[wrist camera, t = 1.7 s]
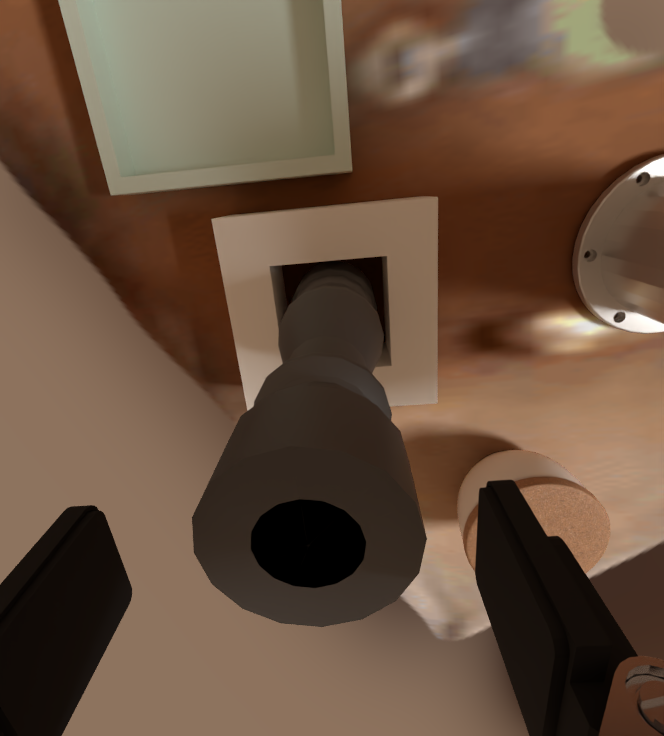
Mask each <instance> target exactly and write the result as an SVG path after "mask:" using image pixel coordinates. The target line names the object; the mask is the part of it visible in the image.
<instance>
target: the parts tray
mask: <svg viewBox="0 0 664 736" xmlns="http://www.w3.org/2000/svg"><path fill="white" fill-rule="evenodd" d="M58 1H59V5H60V9H61V13H62V16H63V20H64V24H65V27H66V31H67V35H68V39H69V42H70V46H71V50H72V53H73V57H74V61H75V65H76V68H77V72H78V76H79V79H80V83H81V87H82V91H83V94H84V98H85V102H86V105H87V109H88V113H89V117H90V120H91V124H92V128H93V131H94V135H95V139H96V143H97V146H98V150H99V154H100V157H101V161H102V165H103V169H104V172H105V176H106V180H107V183H108V187H109V191H110V195H137V194H147V193H156V192H166V191H176V190H186V189H195V188H205V187H215V186H225V185H234V184H244V183H254V182H264V181H273V180H283V179H293V178H303V177H313V176H322V175H332V174H342V173H352V157H351V142H350V127H349V112H348V97H347V82H346V67H345V52H344V37H343V22H342V7H341V0H58Z"/></svg>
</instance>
